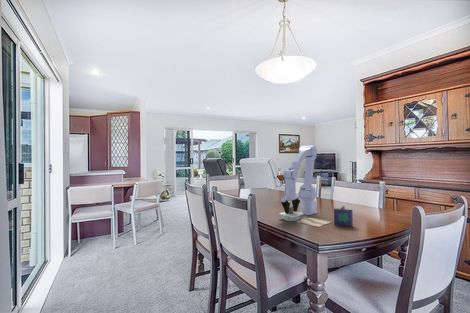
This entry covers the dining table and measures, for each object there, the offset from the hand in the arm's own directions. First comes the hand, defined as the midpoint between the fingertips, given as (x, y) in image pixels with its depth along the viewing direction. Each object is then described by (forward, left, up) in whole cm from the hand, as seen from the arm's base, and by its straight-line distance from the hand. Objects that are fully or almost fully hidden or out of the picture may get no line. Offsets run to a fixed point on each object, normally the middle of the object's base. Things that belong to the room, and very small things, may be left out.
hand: (291, 212), depth 149 cm
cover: (0, 0, -1) cm, 1 cm away
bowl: (0, 0, -4) cm, 4 cm away
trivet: (-4, +13, -4) cm, 14 cm away
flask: (-10, +27, -4) cm, 29 cm away
